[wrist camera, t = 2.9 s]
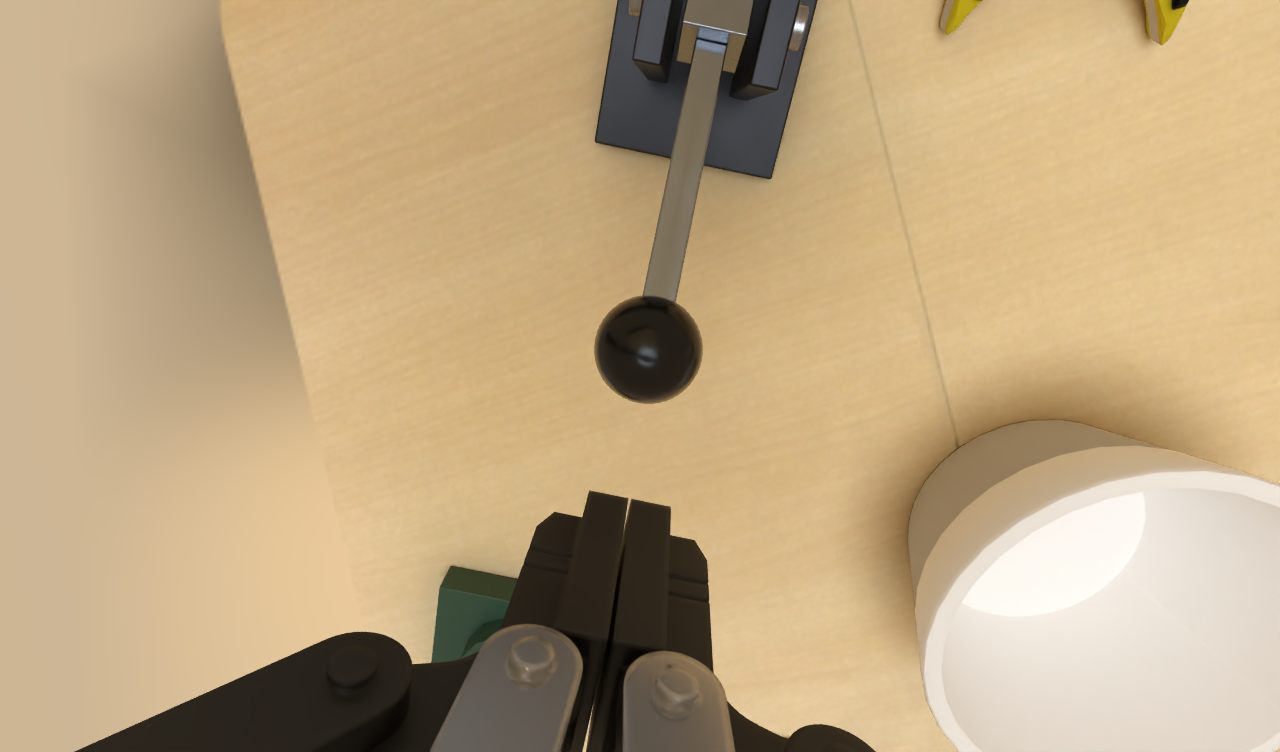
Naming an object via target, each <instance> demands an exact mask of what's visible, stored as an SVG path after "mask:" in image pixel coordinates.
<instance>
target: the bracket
mask: <svg viewBox="0 0 1280 752" xmlns="http://www.w3.org/2000/svg"><path fill="white" fill-rule="evenodd" d="M816 4H817V0H755V2H754V7H753V12H752V17H751V22H750V27H749V32H748V36H747V39H746V42H745V45H744V48H743V51H742V54H741V57H740V60H739V63H738V67H737V70H736V72H735V73H732V72H727V71H722V76H721V80H720V85H719V90H718V95H717V100H716V105H715V110H714V115H713V120H712V125H711V130H710V135H709V140H708V145H707V149H706V154H705V159H704V164H703V165H704V166H709V167H714V168H718V169H723V170H728V171H733V172H737V173H742V174H747V175H752V176H756V177H761V178H766V179H771V178H772V174H773V170H774V166H775V162H776V158H777V155H778V151H779V147H780V143H781V139H782V135H783V131H784V128H785V124H786V120H787V116H788V112H789V108H790V104H791V101H792V97H793V93H794V89H795V85H796V81H797V77H798V74H799V70H800V66H801V62H802V58H803V54H804V50H805V47H806V43H807V39H808V35H809V31H810V27H811V23H812V20H813V16H814V12H815V8H816ZM685 5H686V0H618V1H617V7H616V13H615V20H614V26H613V32H612V38H611V44H610V50H609V56H608V62H607V69H606V75H605V81H604V87H603V93H602V99H601V105H600V111H599V117H598V124H597V130H596V136H595V142H596V143H600V144H605V145H610V146H614V147H619V148H624V149H629V150H633V151H638V152H643V153H647V154H652V155H657V156H662V157H666V158H671V156H672V151H673V146H674V141H675V137H676V132H677V127H678V122H679V117H680V112H681V108H682V103H683V98H684V93H685V88H686V83H687V78H688V74H689V69H690V63H685V62H680V61H677V60H676V57H677V51H678V44H679V38H680V31H681V25H682V19H683V14H684V9H685Z"/></svg>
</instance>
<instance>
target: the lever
mask: <svg viewBox="0 0 1280 752" xmlns="http://www.w3.org/2000/svg"><path fill="white" fill-rule="evenodd" d="M754 2H755V0H686V5H685V9H684V14H683V19H682V25H681V31H680V38H679V44H678V51H677V57H676V60H677V61H680V62H685V63H690V69H689V74H688V78H687V83H686V88H685V93H684V98H683V103H682V108H681V112H680V117H679V122H678V127H677V132H676V137H675V141H674V146H673V151H672V156H671V161H670V166H669V170H668V175H667V180H666V185H665V190H664V195H663V199H662V204H661V209H660V214H659V219H658V224H657V229H656V233H655V238H654V243H653V248H652V253H651V258H650V262H649V267H648V272H647V277H646V282H645V287H644V291H643V296H637V297H633V298H630V299H628V300H625V301H623V302H622V303H620V304H618V305H617V306H616V307H614V308H613V309H612V310H611V311H610V312H609V313H608V314H607V315H606V317H605V318H604V319H603V321H602V323H601V324H600V326H599V329H598V331H597V335H596V338H595V345H594V354H595V361H596V365H597V368H598V370H599V373H600V375H601V377H602V378H603V380H604V381H605V383H606V384H607V385H608V386H609V387H610V388H611V389H612V390H613V391H614V392H615V393H617V394H618V395H620V396H621V397H623V398H625V399H628V400H630V401H633V402H637V403H643V404H654V403H660V402H664V401H667V400H669V399H672V398H674V397H675V396H677V395H679V394H680V393H681V392H683V391H684V390H685V389H686V388H687V387H688V386H689V385H690V384H691V382H692V381H693V380H694V378H695V376H696V374H697V372H698V370H699V368H700V364H701V361H702V354H703V345H702V338H701V334H700V331H699V329H698V326H697V324H696V323H695V321H694V319H693V318H692V317H691V315H690V314H689V313H688V312H687V311H686V310H685V309H684V308H683V307H681V306H680V305H679V304H677V303H675V302H676V297H677V292H678V287H679V283H680V278H681V273H682V268H683V263H684V258H685V253H686V248H687V243H688V238H689V233H690V228H691V223H692V218H693V214H694V209H695V204H696V199H697V194H698V189H699V184H700V179H701V174H702V169H703V164H704V159H705V154H706V149H707V145H708V140H709V135H710V130H711V125H712V120H713V115H714V110H715V105H716V100H717V95H718V90H719V85H720V80H721V76H722V71H727V72H732V73H735V72H736V70H737V67H738V63H739V60H740V57H741V54H742V51H743V48H744V45H745V42H746V39H747V36H748V32H749V27H750V22H751V17H752V12H753V7H754Z"/></svg>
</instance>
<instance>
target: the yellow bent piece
mask: <svg viewBox="0 0 1280 752" xmlns="http://www.w3.org/2000/svg"><path fill="white" fill-rule="evenodd" d="M981 1H982V0H946V2H945V5H944V8H943V12H942V15H941V19H940V25H939V27H940V28H941V29H942V31H943V32H944V33H945V34H949V33H951V32H952V31H954V30H955V29H956V28H957V27H958V26H959V25H960V24H961V23H962V21H963V20H964V19H965V17H966V16H967V15H968V14H969V13H970V12H971V11H972V10H973V9H974V8H975V7H976V6H977V5H978V4H979V3H980V2H981ZM1188 1H1189V0H1144V4H1145V9H1146V29H1147V34H1148V36H1149V37H1150V38H1151V39H1152V40H1154V41H1155V42H1157V43H1159V44H1160V45H1162V44H1164V43H1165V42H1167V41H1168V39H1169V38H1170V37H1171V35H1172V33H1173V31H1174V29H1175V28H1176V26H1177V24H1178V22H1179V20H1180V18H1181V16H1182V14H1183V12H1184V10H1185V7H1186V5H1187V3H1188Z"/></svg>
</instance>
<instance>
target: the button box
mask: <svg viewBox="0 0 1280 752" xmlns="http://www.w3.org/2000/svg"><path fill="white" fill-rule="evenodd" d="M517 580H518V579H513V578H508V577H503V576H498V575H493V574H488V573H483V572H478V571H473V570H468V569H463V568H458V567H453V566H451V567H450V568H449V570H448V572H447V574H446V576H445V578H444V580H443V582H442V584H441V586H440V589H439V598H438V607H437V616H436V626H435V635H434V644H433V653H432V663H440V662H448V661H454V660H458V659H462V658H465V657H467V656H470V655H472V654H474V653H476V652H478V651H479V650H480V648H481V647H482V645H483V644H484V642H485V641H486V640H487V639H488V638H489V637H490V636H492V635H493V634H494V633H496V632H498V631H499V629H500V627H501V624H502V622H503V619H504V616H505V613H506V611H507V608H508V605H509V602H510V599H511V597H512V594H513V591H514V588H515V586H516V583H517Z"/></svg>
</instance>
